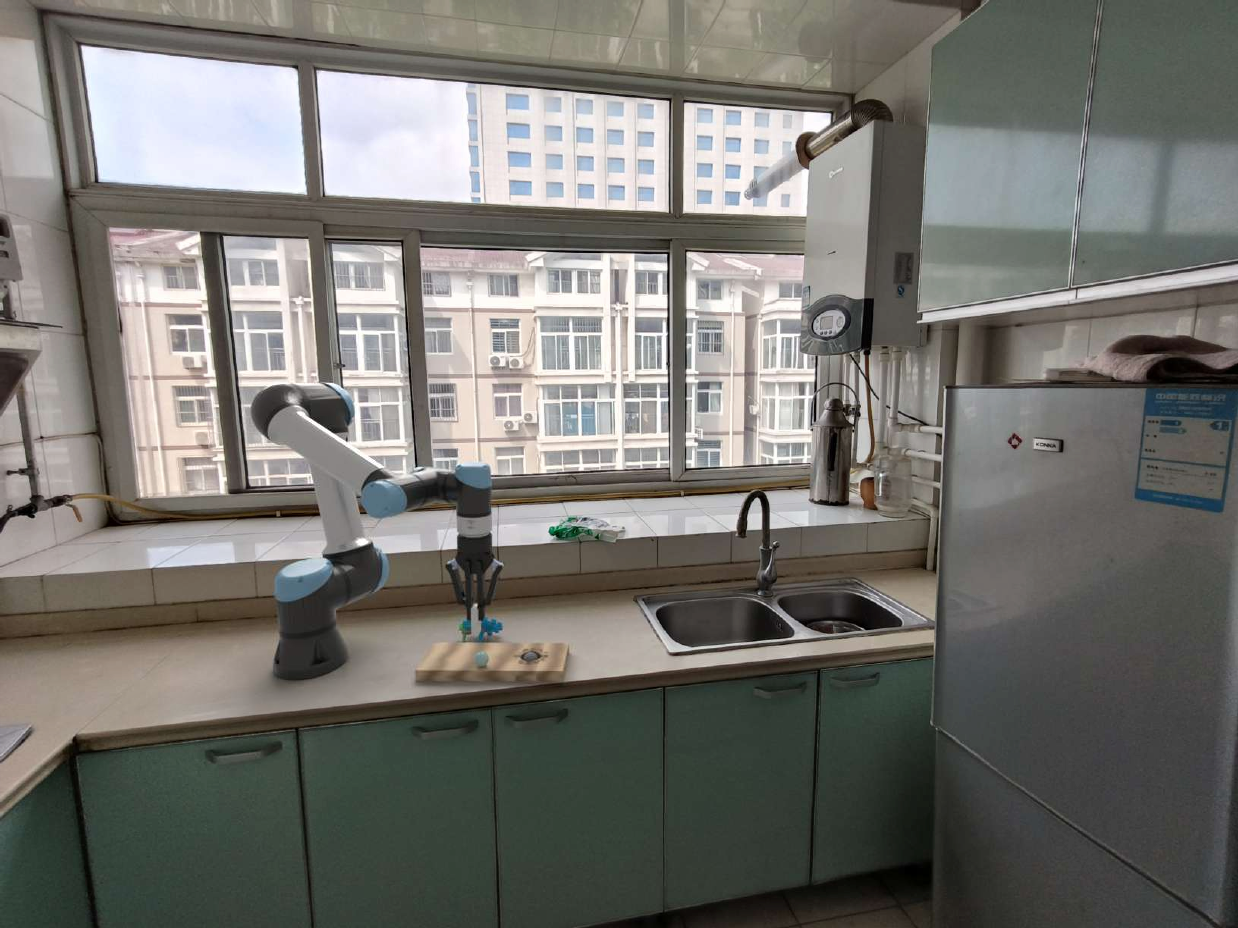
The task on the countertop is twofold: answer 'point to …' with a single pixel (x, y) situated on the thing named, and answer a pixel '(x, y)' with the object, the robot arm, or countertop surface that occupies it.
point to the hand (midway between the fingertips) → (476, 633)
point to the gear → (485, 627)
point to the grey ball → (530, 657)
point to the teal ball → (481, 659)
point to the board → (494, 662)
